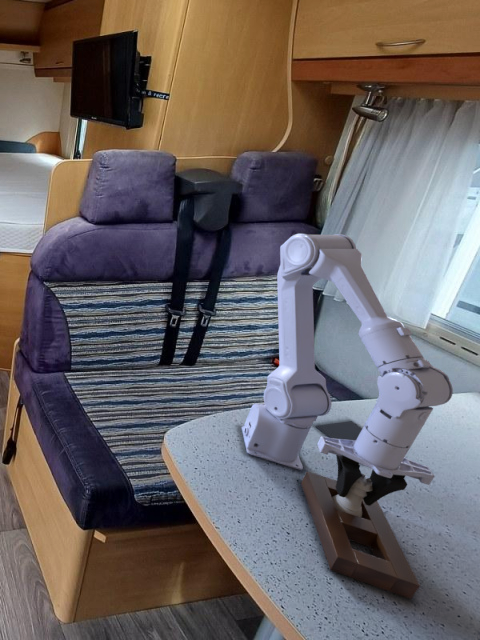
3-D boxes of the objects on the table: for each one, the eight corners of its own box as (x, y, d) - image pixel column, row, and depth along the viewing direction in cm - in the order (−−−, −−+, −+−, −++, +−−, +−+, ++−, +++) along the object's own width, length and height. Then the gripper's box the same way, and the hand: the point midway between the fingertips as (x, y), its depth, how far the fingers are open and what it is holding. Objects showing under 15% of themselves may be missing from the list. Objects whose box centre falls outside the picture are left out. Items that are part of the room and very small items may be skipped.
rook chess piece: (365, 527, 77) (386, 493, 73) (335, 521, 77) (355, 486, 74) (350, 504, 81) (369, 470, 78) (322, 498, 81) (340, 464, 78)
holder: (330, 569, 70) (337, 556, 69) (300, 482, 85) (306, 470, 84) (411, 599, 67) (420, 586, 66) (365, 503, 82) (372, 491, 81)
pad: (360, 463, 91) (361, 462, 91) (315, 426, 100) (315, 425, 100) (398, 457, 93) (399, 456, 93) (351, 421, 102) (351, 420, 102)
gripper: (341, 435, 71) (308, 498, 76) (460, 469, 66) (416, 534, 72) (327, 407, 77) (298, 467, 82) (435, 436, 73) (397, 498, 78)
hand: (352, 496), depth 77 cm, fingers closed on rook chess piece, 3 cm apart
